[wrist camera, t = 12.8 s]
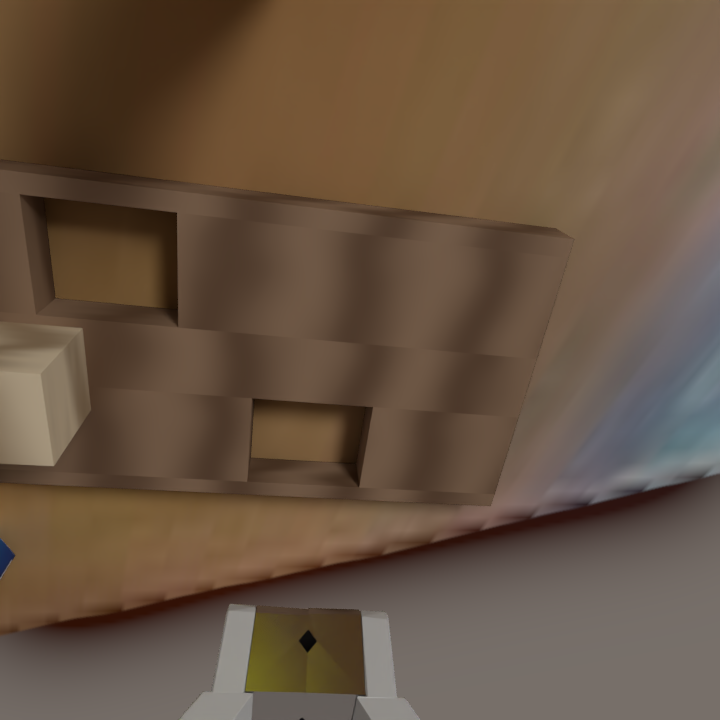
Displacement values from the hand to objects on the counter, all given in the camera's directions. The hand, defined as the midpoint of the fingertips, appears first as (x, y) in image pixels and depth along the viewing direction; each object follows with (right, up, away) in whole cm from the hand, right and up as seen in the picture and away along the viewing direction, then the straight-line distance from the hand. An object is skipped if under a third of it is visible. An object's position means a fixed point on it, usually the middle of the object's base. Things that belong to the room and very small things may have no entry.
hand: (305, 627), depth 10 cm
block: (-17, +5, +18) cm, 25 cm away
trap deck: (-5, +6, +22) cm, 23 cm away
